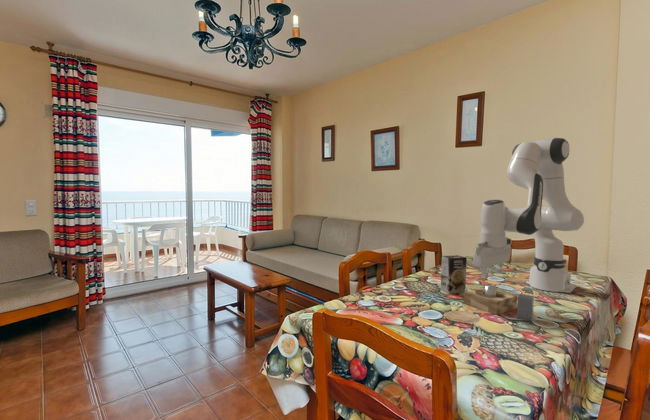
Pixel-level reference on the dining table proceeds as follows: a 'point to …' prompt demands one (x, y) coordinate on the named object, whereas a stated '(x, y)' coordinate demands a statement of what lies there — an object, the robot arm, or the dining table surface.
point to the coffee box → (453, 274)
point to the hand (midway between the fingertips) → (491, 275)
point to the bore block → (490, 301)
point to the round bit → (490, 290)
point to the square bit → (525, 307)
